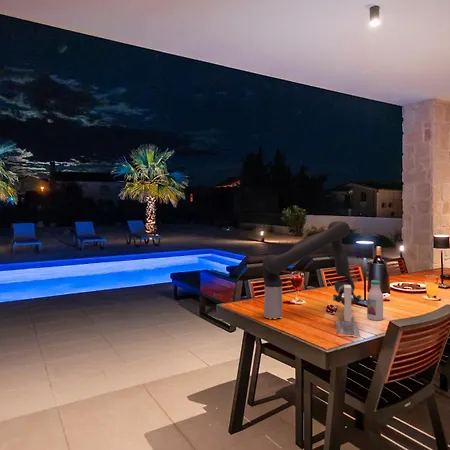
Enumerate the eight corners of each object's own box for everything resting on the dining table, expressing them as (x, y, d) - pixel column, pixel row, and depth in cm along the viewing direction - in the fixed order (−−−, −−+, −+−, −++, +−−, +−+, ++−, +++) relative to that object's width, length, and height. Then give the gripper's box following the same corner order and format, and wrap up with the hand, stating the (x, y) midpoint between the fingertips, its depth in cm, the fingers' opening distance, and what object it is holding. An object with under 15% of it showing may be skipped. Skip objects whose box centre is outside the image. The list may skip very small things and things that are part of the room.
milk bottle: (379, 316, 213) (379, 279, 211) (385, 320, 205) (386, 282, 204) (364, 316, 212) (365, 279, 211) (370, 321, 205) (371, 282, 203)
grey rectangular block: (344, 320, 189) (344, 287, 188) (344, 317, 195) (344, 284, 194) (351, 321, 189) (351, 287, 187) (350, 317, 194) (350, 284, 193)
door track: (337, 336, 184) (337, 328, 183) (335, 322, 203) (335, 316, 203) (360, 337, 181) (360, 330, 181) (356, 324, 201) (356, 317, 200)
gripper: (331, 286, 206) (332, 294, 190) (360, 286, 203) (363, 295, 186) (331, 300, 207) (332, 309, 190) (360, 301, 204) (363, 311, 187)
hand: (348, 302), depth 188 cm, fingers closed on grey rectangular block, 3 cm apart
